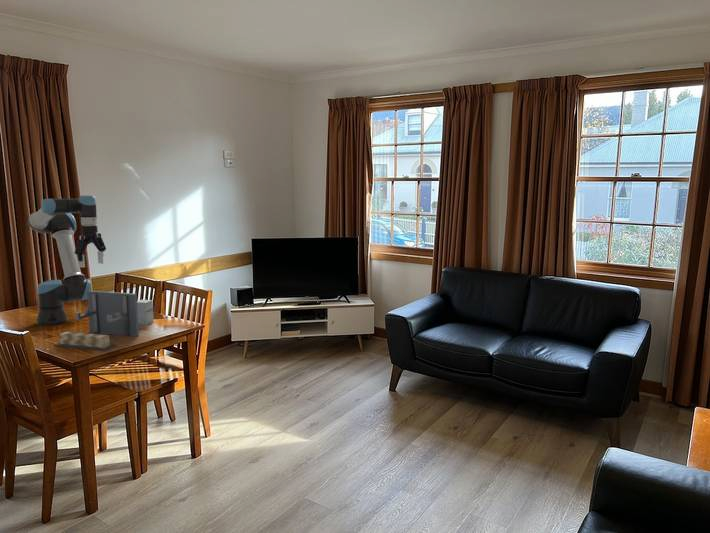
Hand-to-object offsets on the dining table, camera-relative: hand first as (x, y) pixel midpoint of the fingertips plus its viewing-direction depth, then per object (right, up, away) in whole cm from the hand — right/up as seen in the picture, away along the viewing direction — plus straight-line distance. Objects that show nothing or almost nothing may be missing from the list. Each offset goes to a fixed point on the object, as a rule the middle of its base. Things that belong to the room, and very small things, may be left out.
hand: (91, 265), depth 277 cm
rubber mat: (+10, -39, -25) cm, 47 cm away
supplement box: (+21, -33, +17) cm, 42 cm away
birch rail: (+10, -38, -25) cm, 47 cm away
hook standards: (+12, -37, -13) cm, 41 cm away
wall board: (+14, -36, -5) cm, 39 cm away
